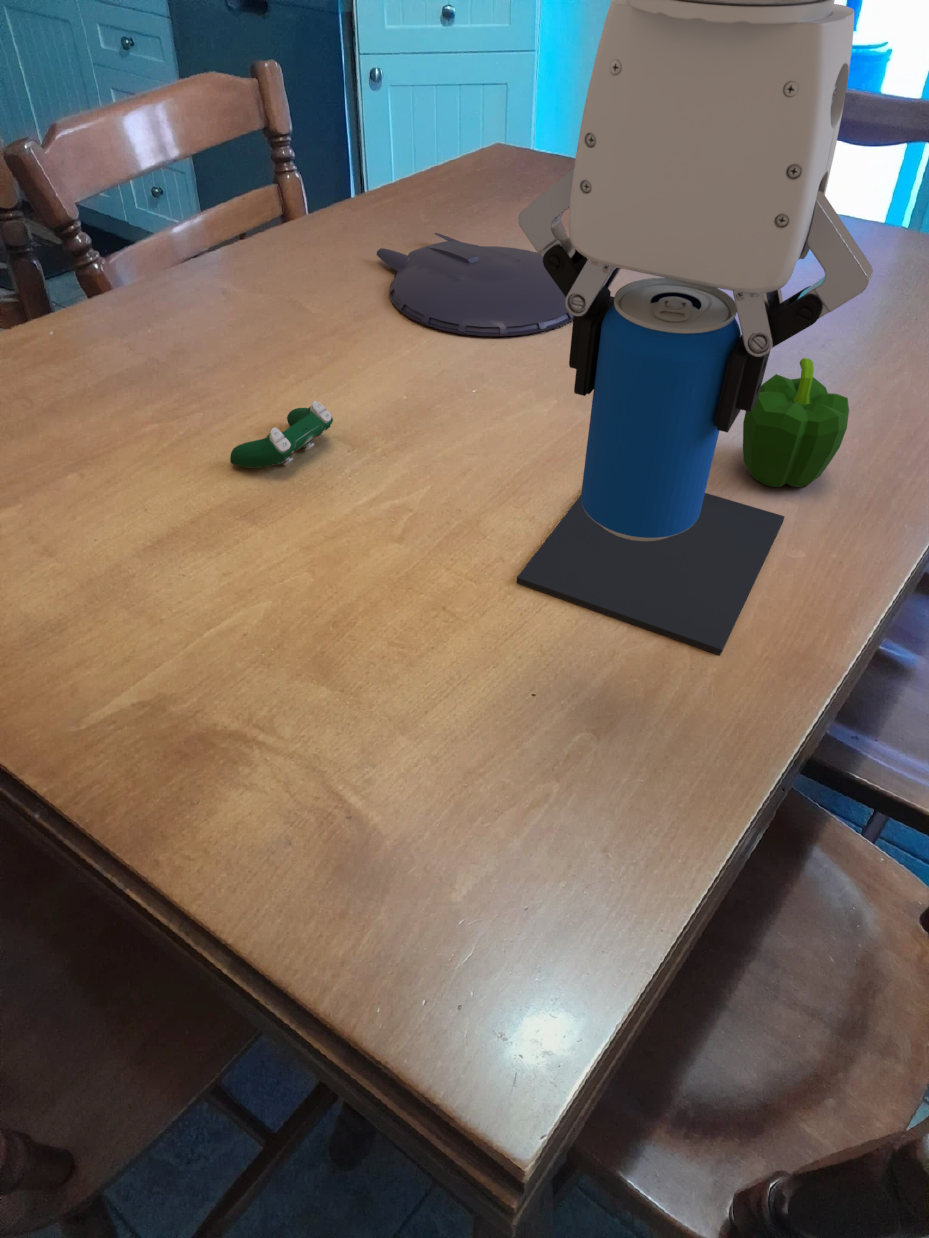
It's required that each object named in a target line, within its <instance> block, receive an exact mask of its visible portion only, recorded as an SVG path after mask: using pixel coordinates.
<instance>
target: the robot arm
mask: <svg viewBox="0 0 929 1238" xmlns="http://www.w3.org/2000/svg"><path fill="white" fill-rule="evenodd" d="M835 1H836V0H610V3H609V5H608V6H609V7H608V10H607V13H606V16H605V18H604V19H605V20H604V22H603V27H602V31H601V34H600V38H599V42H598V45H597V50H596V54H595V58H594V63H593V67H592V71H591V76H590V78H589V79H590V80H589V83H588V88H587V93H586V97H585V98H586V99H585V103H584V107H583V111H582V118H581V123H580V129H579V134H578V142H577V147H576V153H575V159H574V167H572V168H571V169H570V170H569V171H568V172H566V173H565V174H564V175H563V176H562V177H560V178H559V179H558V180H557V181H555V182H554V183H553V184H552V185H551V186H550V187H548V188H547V189H545V191H543V192H542V193H541V194H540V195H539V196H537V197H536V198H535V199H534V200H533V201H531V202H530V203H529V204H528V205H527V206H525V208H523V209H522V210H521V211H520V212H519V214H518V217H517V222H518V225H519V227H520V229H521V230H522V232H523V233H524V235H525V237H526V238H527V239H528V241H529V242H530V244H531V245H532V247H533V248H534V250H535V251H536V253H540V254H541V256H542V257H543V264H544V267H545V269H546V270H547V272H548V273H549V275H550V276H551V277H552V279H553V280H554V282H555V283H556V284H557V286H558V287H559V289H560V290H561V291H562V293H563V294H564V296H565V297H566V299H565V306H566V308H567V310H568V312H569V313H570V314H572V315H574V317H573V320H572V329H571V339H570V347H569V348H570V349H569V357H568V358H569V359H568V366H569V368H570V369H574V370H575V376H574V377H575V379H574V389H573V392H574V394H576V395H579V396H583V397H586V396H587V395H590V394H591V393H593V391H594V383H595V375H596V366H597V358H598V350H599V341H600V333H601V325H602V321H603V318H604V316H605V314H606V313H607V311H608V310H609V309H610V308H611V307H612V306H613V305H614V297H615V296H613V295H612V292H611V290H610V287H611V286H612V284H613V283H614V281H615V280H616V278H617V276H618V274H619V273H620V272H621V270H622V269H623V270H626V271H631V272H637V273H641V274H645V275H650V276H654V277H655V276H656V277H659V278H670V279H675V280H680V281H685V282H690V283H695V284H700V285H705V286H710V287H715V288H718V289H720V290H726V291H731V292H732V296H733V300H734V301H735V304H736V309H737V317H738V318H737V319H738V324H739V328H740V332H741V338H740V340H739V342H738V343H737V344H736V346H735V347H734V349H733V350H732V352H731V354H730V356H729V359H728V364H727V368H726V372H725V377H724V381H723V386H722V390H721V394H720V399H719V403H718V408H717V412H716V417H715V421H714V426H716V427H717V430H719V432H724V433H729V431H730V430H731V428H732V426H733V425H734V422H735V421H736V419H737V417H738V416H739V414H740V412H741V411H744V412H746V411H749V412H752V410H753V408H754V406H755V404H756V402H757V399H758V396H759V392H760V389H761V386H762V385H763V380H764V377H765V373H766V369H767V365H768V361H769V357H770V353H771V350H772V349H773V348H775V347H776V346H778V345H780V344H782V343H783V342H785V341H787V340H789V339H790V338H792V337H794V336H795V335H797V334H799V333H800V332H802V331H805V330H806V329H808V328H809V327H811V326H813V325H814V324H815V323H817V321H818V320H819V319H821V318H822V317H824V316H825V315H827V314H829V313H831V312H833V311H835V310H836V309H838V308H840V307H841V306H843V305H845V304H846V303H848V302H850V301H851V300H853V299H854V298H856V297H857V296H859V295H860V294H862V293H863V292H864V291H865V290H867V287H868V286H869V283H870V281H871V280H872V277H873V272H874V269H873V267H872V264H871V262H870V261H869V260H868V259H867V257H866V255H865V254H864V252H863V250H862V249H861V248H860V247H859V245H858V243H857V242H856V240H855V239H854V238H853V236H852V234H851V232H850V231H849V230H848V228H847V227H846V225H845V224H844V222H843V220H842V219H841V218H840V216H839V214H838V213H837V212H836V210H835V208H834V207H833V206H832V204H831V202H830V201H829V199H828V198H827V197H826V192H827V187H828V184H829V179H830V175H831V170H832V166H833V160H834V156H835V153H836V148H837V143H838V137H839V132H840V127H841V122H842V117H843V113H844V112H843V111H844V106H845V99H846V95H847V94H846V93H847V88H848V82H849V74H850V66H851V59H852V50H853V42H854V30H855V29H854V28H855V10H854V8H851V7H849V6H847V5H844V4H839V3H838V4H837V3H835ZM567 210H568V234H567V230H566V228H565V226H564V225H563V221H562V217H563V214H564V213H565V212H566V211H567ZM809 252H811V253H812V255H813V256H814V258H815V259H816V260H817V263H819V265H820V267H821V268H822V269H823V272H824V276H823V277H822V278H820V279H818V281H816V282H815V283H813V284H812V285H808V286H806V287H804V288H803V289H801V290H799V291H798V292H797V293H794V294H793V295H791V296H790V297H788V298H786V299H785V300H784V299H783V294H782V288H784V287H785V286H786V285H787V284H788V283H789V281H790V279H791V277H792V275H793V273H794V271H795V267H796V265H797V261H798V260H805V258H806V257H807V256H808V253H809ZM611 295H612V296H611Z"/></svg>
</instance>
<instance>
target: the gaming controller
mask: <svg viewBox="0 0 929 1238" xmlns="http://www.w3.org/2000/svg"><path fill="white" fill-rule="evenodd" d="M286 422H287V424H288V426H289V427H288V428H286V429H285V430H283V431H281V430H280V429H279V428H278V427H272V428H271V430H270V431H269V433H268V434H267V436H266V437H264V438H261V439H256V440H252V441H251V440H250V441H246V442H244V443H240V444H238V445H236V446H235V447H234V448H233V449H232V450H231V452H230V459H229V461H230V463H231V464H232V465H235V466H238V467H242V468H246V469H247V468H248V469H257V468H258V469H260V468H267V467H272V466H278V465H279V464H282V463H283V464H282V465H283V466H287V465H288V464H290V463H291V462H293V460H294V458H293V457H292V456H293V454H294V453H295V452H296V451H298V450H299V449H301V450H302V449H303V451H306V452H308V451H309V450H310V449H311V448H313V447H314V446H315V442H314V439H315V438H317V437H319V436H321V435H322V434H323V433H324V432H325V431H327V430H329V429H330V428H331V425H332V424H333V422H334V418H333V416H332V414H331V412H330V411H329V410H328V409H326V407H325V406H324V405H323V404H322V403H321V402H319V401H318V400H313V401H312V402H311V406H309V407H297V408H293V409H291V410H290V411H289V412H288V414H287V416H286ZM290 457H291V458H290Z"/></svg>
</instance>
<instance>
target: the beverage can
mask: <svg viewBox="0 0 929 1238" xmlns="http://www.w3.org/2000/svg"><path fill="white" fill-rule="evenodd" d="M613 297H614V305H613V306H612V307H611V308H610V309H609V310H608V311H607V313H606V314H605V316H604V318H603V321H602V325H601V333H600V341H599V350H598V358H597V366H596V375H595V383H594V389H593V391H592V400H591V408H590V410H591V411H590V417H589V426H588V434H587V441H586V452H585V459H584V467H583V474H582V475H583V476H582V484H581V492H580V495H581V502H582V506H583V508H584V510H585V512H586V513H587V515H588V516H589V517H590V518H591V519H592V520H594V521H595V522H596V523H597V524H599V525H600V526H602V527H603V528H604V529H605V530H607V531H608V532H610V533H612V534H614V535H616V536H619V537H622V538H625V539H629V540H635V541H656V540H661V539H665V538H667V537H670V536H674V535H677V534H679V533H682V532H684V531H686V530H687V529H689V528H690V527H691V526H693V525H694V523H695V522H696V521H697V519H698V518H699V515H700V512H701V508H702V503H703V499H704V495H705V493H706V491H707V486H708V482H709V477H710V473H711V469H712V465H713V460H714V456H715V451H716V447H717V442H718V439H719V434H720V431H719V430H717V427H716V426H714V421H715V417H716V412H717V408H718V403H719V399H720V394H721V390H722V386H723V381H724V377H725V372H726V368H727V364H728V359H729V356H730V354H731V352H732V350H733V349H734V347H735V346H736V344H737V343H738V342H739V340H740V338H741V335H742V332H741V327H740V324H739V321H737V318H736V316H737V315H738V313H737V309H736V304H735V300H734V297H732V296H731V295H730V294H728V293H727V292H725V291H724V290H723V289H720V288H715V287H710V286H705V285H700V284H695V283H690V282H685V281H680V280H675V279H670V278H665V277H650V278H643V279H638V280H634V281H631V282H628V283H627V284H625V285H623V286H621V287H619V289H618V290H616V293H615V294H614V296H613Z"/></svg>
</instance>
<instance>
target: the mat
mask: <svg viewBox="0 0 929 1238" xmlns="http://www.w3.org/2000/svg"><path fill="white" fill-rule="evenodd" d="M784 521H785V516H784V515H782V514H778V513H775V512H772V511H768V510H765V509H761V508H758V507H755V506H751V505H748V504H745V503H741V502H738V501H734V500H731V499H728V498H724V497H722V496H721V497H720V496H718V495H714V494H710V493H707V492H705V495H704V499H703V503H702V508H701V512H700V515H699V518H698V519H697V521H696V522H695V523H694V525H693V526H691V527H690V528H689V529H687V530H686V531H684V532H682V533H679V534H677V535H674V536H670V537H667V538H665V539H661V540H656V541H635V540H629V539H625V538H622V537H619V536H616V535H614V534H612V533H610V532H608V531H607V530H605V529H604V528H603V527H602V526H600V525H599V524H597V523H596V522H595V521H594V520H592V519H591V518H590V517H589V516H588V515H587V513H586V512H585V510H584V508H583V506H582V502H581V494H580V495H579V497H577V499H576V501H575V502H574V503H573V504H572V506H570V508H569V510H567V512H566V513H565V515H564V516H563V517H562V519H561V520H560V521H559V522H558V524H557V525H556V526H555V527H554V529H553V530H552V531H551V532H550V534H549V535H548V536H547V537H546V539H545V540H544V541H543V543H542V544H541V545H540V547H539V548H538V549H537V551H536V552H535V553H534V555H532V557H531V559H530V560H529V561H528V562H527V564H526V565H525V566H524V567H523V569H522V570H521V571H520V573H519V574H518V575H517V576H516V584H519V585H521V586H524V587H527V588H530V589H533V590H534V591H539V592H541V593H544V594H547V595H548V596H549V595H550V596H552V597H555V598H557V599H559V600H564V601H566V602H569V603H572V604H574V605H578V606H580V607H583V608H586V609H589V610H592V611H594V612H597V613H600V614H603V615H606V616H608V617H611V618H613V619H617V620H619V621H622V622H626V623H627V624H630V625H634V626H637V627H638V628H639V627H640V628H641V629H644V630H648V631H650V632H652V633H653V632H654V633H656V634H659V635H662V636H665V637H667V638H669V639H672V640H676V641H678V642H681V643H684V644H686V645H688V646H689V645H690V646H692V647H695V648H698V649H700V650H704V651H707V652H709V653H712V654H715V655H717V656H721V655H722V653H723V651H724V648H725V646H726V644H727V642H728V640H729V638H730V635H731V633H732V631H733V629H734V627H735V625H736V622H737V621H738V619H739V616H740V614H741V612H742V611H743V608H744V605H745V604H746V601H747V599H748V598H749V595H750V593H751V591H752V589H753V587H754V585H755V582H756V580H757V578H758V576H759V574H760V572H761V569H762V567H763V565H764V563H765V561H766V559H767V557H768V555H769V552H770V551H771V548H772V546H773V544H774V542H775V540H776V538H777V536H778V534H779V531H780V529H781V527H782V525H783V523H784Z"/></svg>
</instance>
